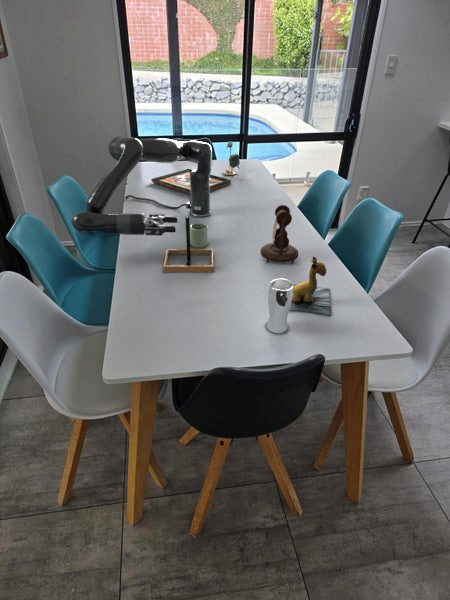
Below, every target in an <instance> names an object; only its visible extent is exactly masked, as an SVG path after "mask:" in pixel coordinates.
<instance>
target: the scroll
mask: <svg viewBox="0 0 450 600" xmlns="http://www.w3.org/2000/svg"><path fill="white" fill-rule="evenodd" d="M274 216H275V219H274V223H273V228H272V235H271V236H272V237H271V238H272V242H271V243H267V244H264V245H263V246H262V247H260V255H261V256H262V257H263V259H265V260H266V263H269V262H275V263H292V264H293V263H294V261H295V260H297V259H298V257H299V250H298V249H297V248H296V247H295V246H293V245H291V244H290V239H289V237H288V231H287V230H286V229H287V227H288V226H289V225H291V223H292V220H293V216H292V214H291V209H290V207H289V206H287V205H285V204H280V205H278V206H277V207H276V208H275V211H274Z"/></svg>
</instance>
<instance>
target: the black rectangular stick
mask: <svg viewBox="0 0 450 600" xmlns="http://www.w3.org/2000/svg"><path fill="white" fill-rule="evenodd" d="M190 226H191V219H190V216H189V215H186V216H185V238H186V239H185V241H186V249H187V254H186V265H187V266H191V265H192V254H191V249H192V248H191V247H192V245H191V237H190Z"/></svg>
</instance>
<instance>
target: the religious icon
mask: <svg viewBox="0 0 450 600" xmlns="http://www.w3.org/2000/svg"><path fill="white" fill-rule="evenodd" d="M193 170H194V169H190V168H185V169H181V170H179V171H176V172H172V173H171V172H170V173H168V174H165V175H161V176H157V177H154V178H151V182H152V183H154V184H157V185H160V186H163V187H166V188H169V189H173V190H175V191H178V192H182V193H185V194H188V195H189V194H190V172H191V171H193ZM231 183H232V180H231V179H228V178H225V177H223V176H218V175H214V174H210V192H211V191H215V190H216V189H219V188H222V187H224V186H227V185H231Z"/></svg>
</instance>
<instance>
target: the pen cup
mask: <svg viewBox="0 0 450 600" xmlns="http://www.w3.org/2000/svg"><path fill="white" fill-rule="evenodd" d="M208 229H209V228H208V225H207V224H206V223H201V222H196V223H193V224H190V245H191V247H195V248H204V247H206V246H207V245H208V244H209V241H208V239H209V237H208V235H209V234H208V231H209V230H208Z"/></svg>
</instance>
